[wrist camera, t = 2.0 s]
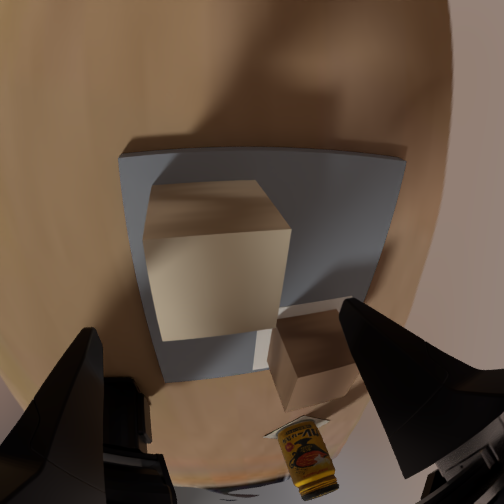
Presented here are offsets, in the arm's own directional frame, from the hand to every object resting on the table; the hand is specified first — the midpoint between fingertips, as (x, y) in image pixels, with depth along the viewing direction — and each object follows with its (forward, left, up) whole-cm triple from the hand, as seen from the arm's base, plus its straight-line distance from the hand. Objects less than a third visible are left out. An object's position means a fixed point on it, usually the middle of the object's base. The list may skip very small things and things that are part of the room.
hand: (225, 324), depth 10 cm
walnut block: (+7, -10, -7) cm, 14 cm away
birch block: (0, 0, -7) cm, 7 cm away
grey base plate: (+4, -5, -7) cm, 10 cm away
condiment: (+12, -35, -8) cm, 38 cm away
